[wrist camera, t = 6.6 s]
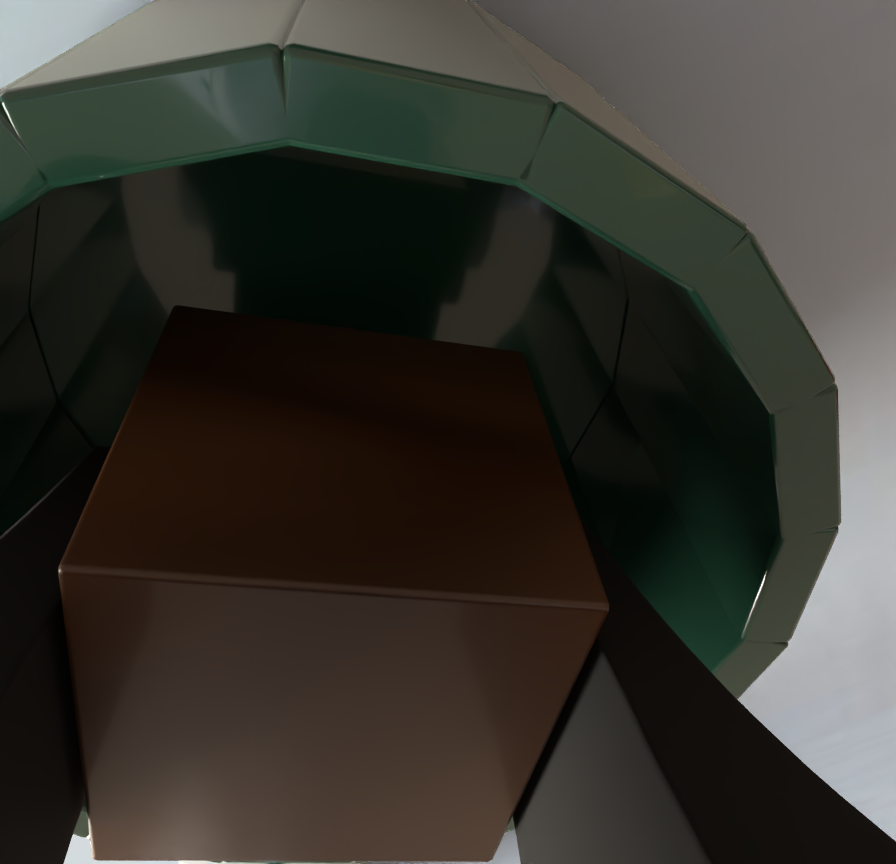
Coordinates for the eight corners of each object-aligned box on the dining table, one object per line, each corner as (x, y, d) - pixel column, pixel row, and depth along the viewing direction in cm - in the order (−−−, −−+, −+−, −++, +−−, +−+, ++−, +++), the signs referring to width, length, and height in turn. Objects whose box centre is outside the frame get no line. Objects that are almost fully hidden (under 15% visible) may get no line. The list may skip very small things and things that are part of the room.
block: (173, 562, 12) (90, 863, 8) (172, 302, 9) (54, 569, 6) (454, 583, 12) (492, 864, 9) (523, 350, 10) (613, 608, 6)
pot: (-120, 387, 13) (-419, 704, 8) (249, -271, 9) (97, -479, 4) (387, 634, 18) (397, 926, 13) (784, 292, 14) (1032, 533, 9)
